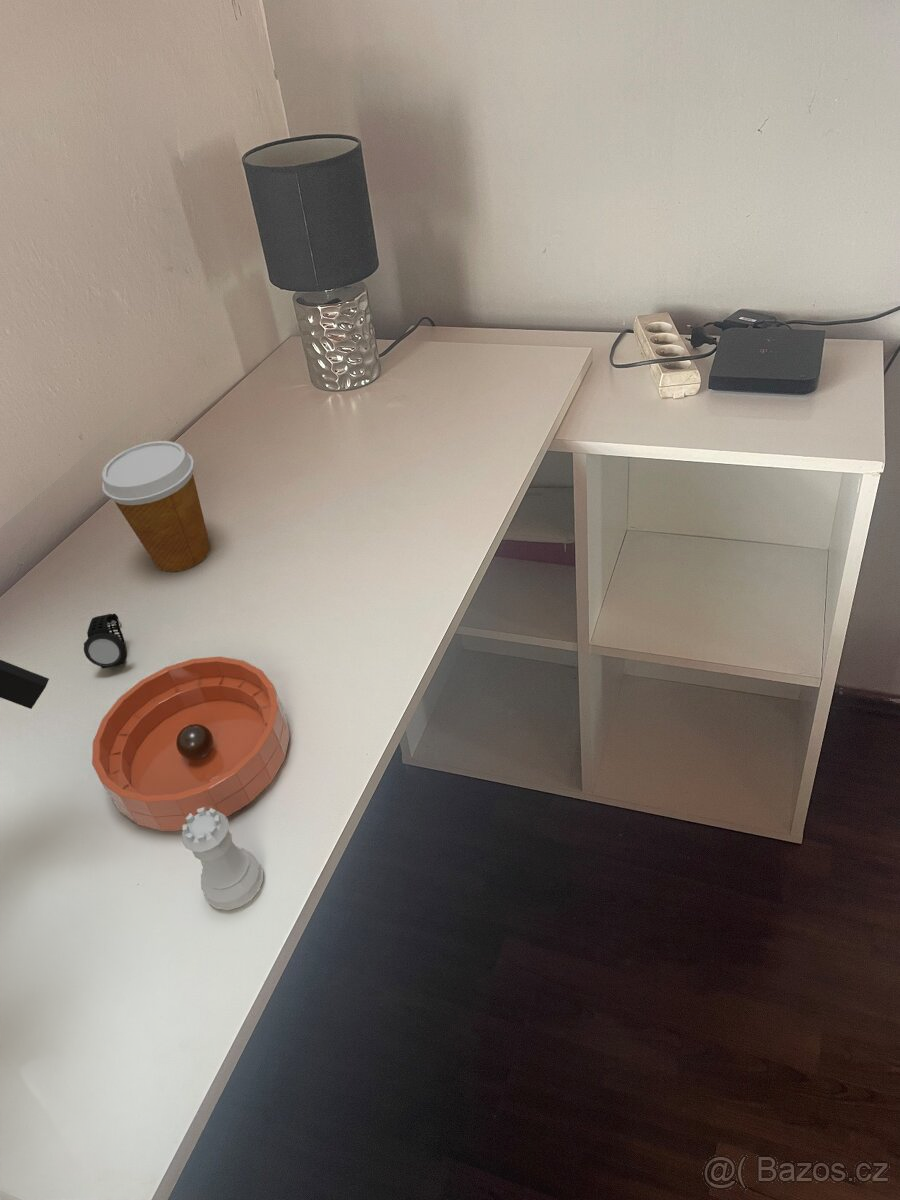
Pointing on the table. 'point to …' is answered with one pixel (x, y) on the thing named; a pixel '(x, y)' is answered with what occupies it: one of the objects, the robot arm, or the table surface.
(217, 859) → the rook chess piece
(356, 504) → the table surface
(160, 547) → the disposable coffee cup
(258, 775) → the bowl
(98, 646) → the smartwatch
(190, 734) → the bead
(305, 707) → the table surface
